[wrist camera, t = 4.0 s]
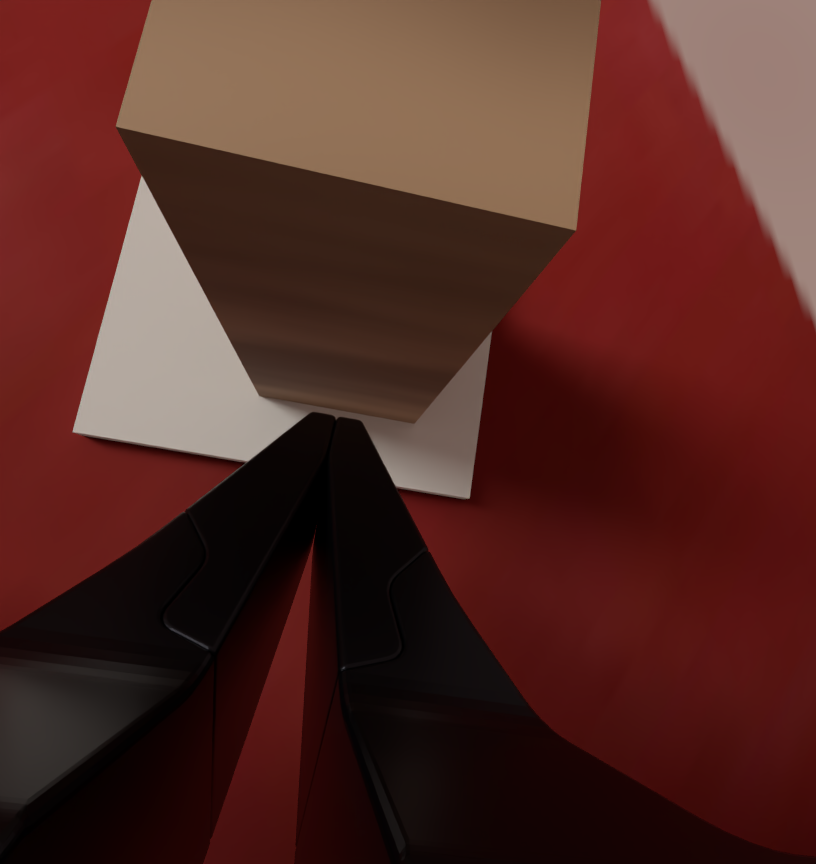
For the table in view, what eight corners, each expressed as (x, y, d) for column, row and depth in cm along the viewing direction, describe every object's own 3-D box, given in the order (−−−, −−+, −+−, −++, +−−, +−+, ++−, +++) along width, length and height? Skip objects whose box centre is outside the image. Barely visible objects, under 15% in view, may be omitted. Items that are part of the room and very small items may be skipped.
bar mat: (464, 499, 17) (469, 498, 16) (82, 435, 16) (72, 431, 15) (538, -46, 21) (544, -62, 20) (233, -131, 19) (230, -151, 19)
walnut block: (414, 423, 16) (575, 230, 6) (258, 395, 16) (116, 126, 5) (436, 281, 17) (614, -120, 7) (289, 250, 17) (219, -241, 6)
